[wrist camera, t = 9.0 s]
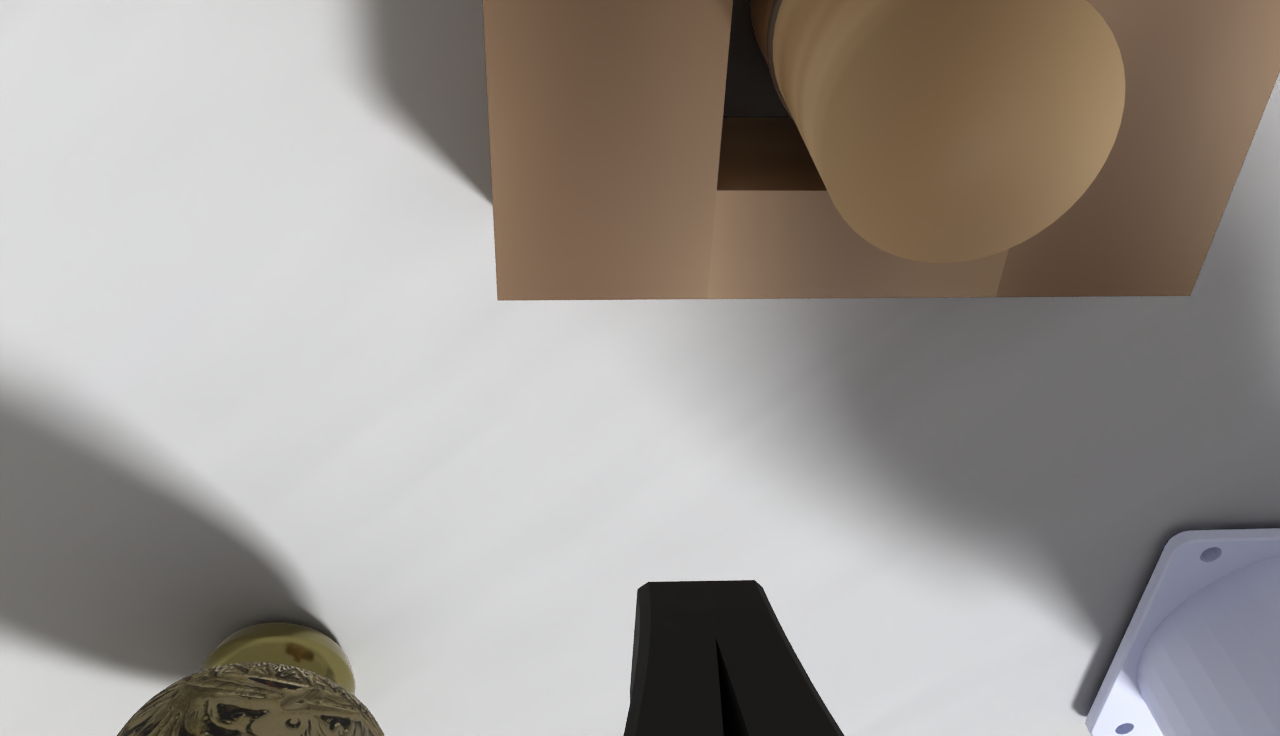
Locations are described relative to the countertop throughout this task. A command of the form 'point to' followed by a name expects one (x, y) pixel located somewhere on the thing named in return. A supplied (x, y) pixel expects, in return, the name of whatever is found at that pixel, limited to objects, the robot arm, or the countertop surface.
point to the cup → (262, 690)
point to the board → (790, 183)
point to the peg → (947, 113)
